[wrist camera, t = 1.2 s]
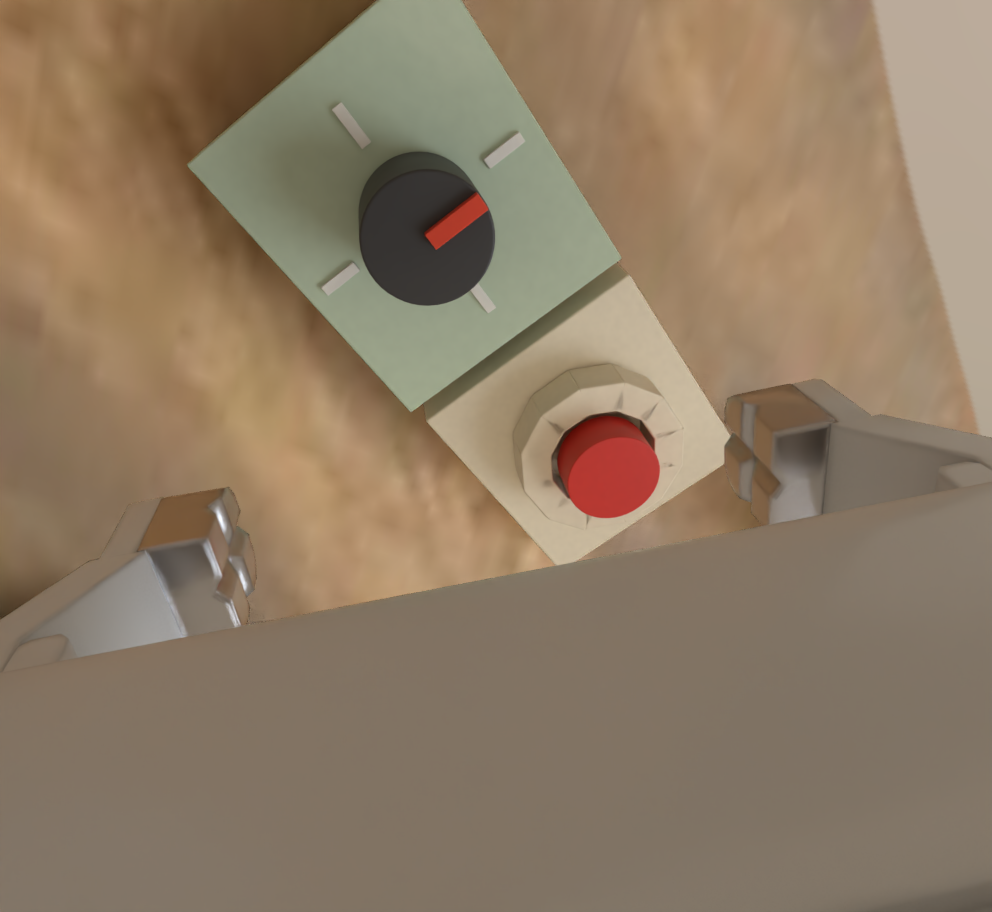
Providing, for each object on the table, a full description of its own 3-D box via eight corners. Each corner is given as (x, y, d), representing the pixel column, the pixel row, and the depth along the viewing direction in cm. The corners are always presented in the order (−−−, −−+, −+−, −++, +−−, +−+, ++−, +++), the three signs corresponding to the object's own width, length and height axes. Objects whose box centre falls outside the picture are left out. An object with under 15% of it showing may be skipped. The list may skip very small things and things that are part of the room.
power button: (539, 451, 30) (549, 475, 28) (617, 397, 29) (631, 419, 28) (586, 509, 32) (598, 534, 30) (661, 460, 31) (676, 483, 30)
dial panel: (202, 149, 26) (184, 166, 23) (424, -42, 24) (433, -48, 22) (406, 380, 31) (411, 415, 29) (599, 237, 30) (623, 259, 27)
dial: (410, 298, 27) (417, 335, 24) (332, 203, 25) (329, 231, 22) (503, 227, 26) (523, 255, 23) (431, 123, 24) (442, 140, 21)
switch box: (421, 397, 32) (429, 443, 29) (612, 257, 30) (645, 289, 27) (550, 543, 37) (570, 597, 33) (720, 429, 35) (760, 475, 32)
